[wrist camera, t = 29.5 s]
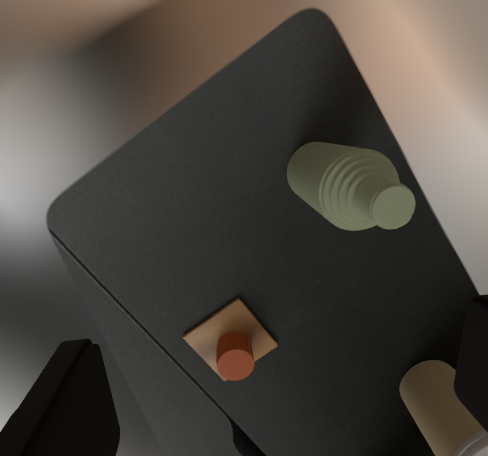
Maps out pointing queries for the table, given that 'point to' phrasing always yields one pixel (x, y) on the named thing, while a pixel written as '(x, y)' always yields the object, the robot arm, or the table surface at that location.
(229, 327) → the coaster
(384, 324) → the table surface
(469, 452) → the coffee cup
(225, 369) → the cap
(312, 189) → the sauce bottle
